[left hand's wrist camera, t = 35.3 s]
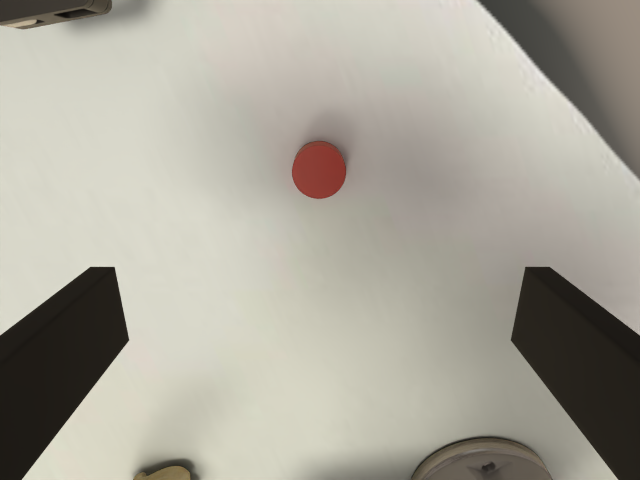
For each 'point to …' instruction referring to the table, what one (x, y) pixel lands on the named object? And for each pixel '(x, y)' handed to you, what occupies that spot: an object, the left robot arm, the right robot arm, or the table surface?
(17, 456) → the left robot arm
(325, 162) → the cap
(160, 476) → the sculpture
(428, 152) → the table surface
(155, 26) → the table surface
